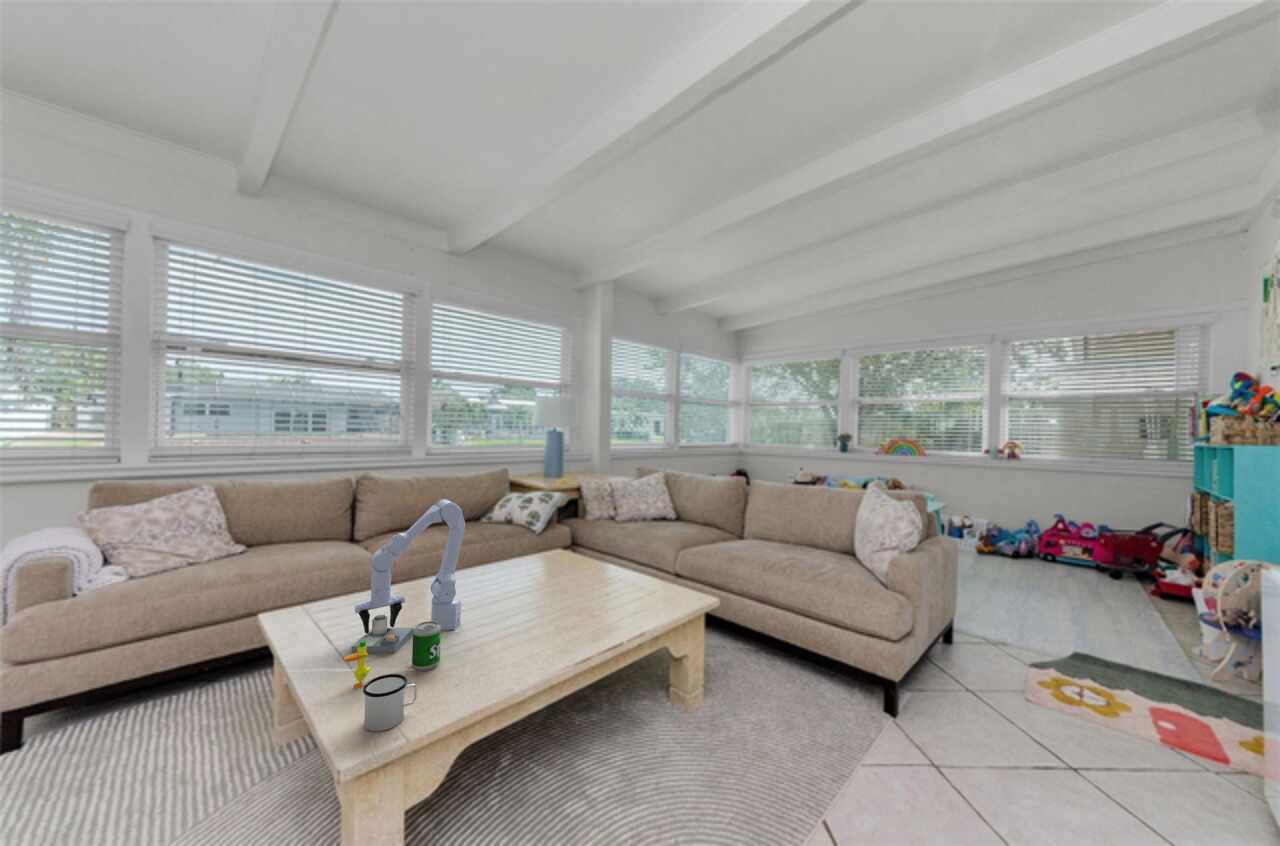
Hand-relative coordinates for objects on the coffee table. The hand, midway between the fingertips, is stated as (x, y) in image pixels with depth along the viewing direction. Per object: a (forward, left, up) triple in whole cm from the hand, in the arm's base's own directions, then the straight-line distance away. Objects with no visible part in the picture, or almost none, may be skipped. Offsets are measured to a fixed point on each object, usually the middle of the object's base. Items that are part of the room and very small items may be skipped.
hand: (379, 629), depth 159 cm
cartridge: (0, 0, -3) cm, 3 cm away
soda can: (-22, +18, -3) cm, 28 cm away
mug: (-23, +44, -3) cm, 50 cm away
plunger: (-7, +9, -1) cm, 11 cm away
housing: (-3, +3, -3) cm, 6 cm away
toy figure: (-8, +29, -3) cm, 30 cm away
